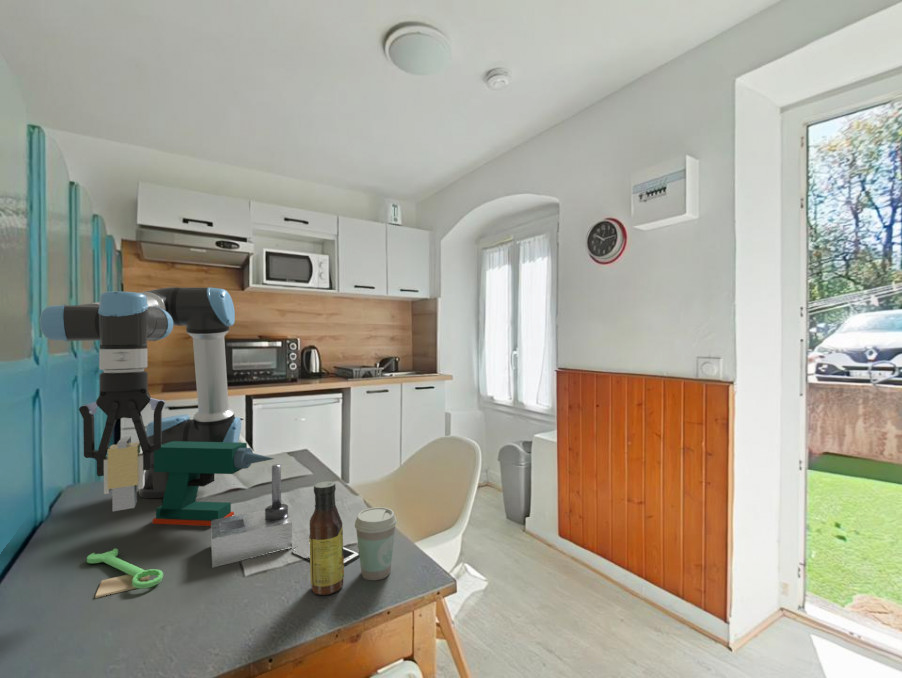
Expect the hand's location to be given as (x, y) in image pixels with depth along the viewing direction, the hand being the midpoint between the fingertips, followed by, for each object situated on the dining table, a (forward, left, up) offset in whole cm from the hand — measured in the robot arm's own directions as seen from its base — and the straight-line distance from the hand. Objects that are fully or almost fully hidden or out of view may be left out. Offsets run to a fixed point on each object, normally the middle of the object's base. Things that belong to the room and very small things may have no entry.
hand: (124, 488), depth 84 cm
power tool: (-24, +17, -19) cm, 35 cm away
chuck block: (-3, +23, -19) cm, 30 cm away
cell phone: (+9, +37, -19) cm, 43 cm away
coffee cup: (+22, +44, -19) cm, 52 cm away
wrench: (-6, -1, -19) cm, 19 cm away
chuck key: (0, 0, -3) cm, 3 cm away
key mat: (0, 0, -19) cm, 19 cm away
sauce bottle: (+22, +34, -19) cm, 44 cm away
